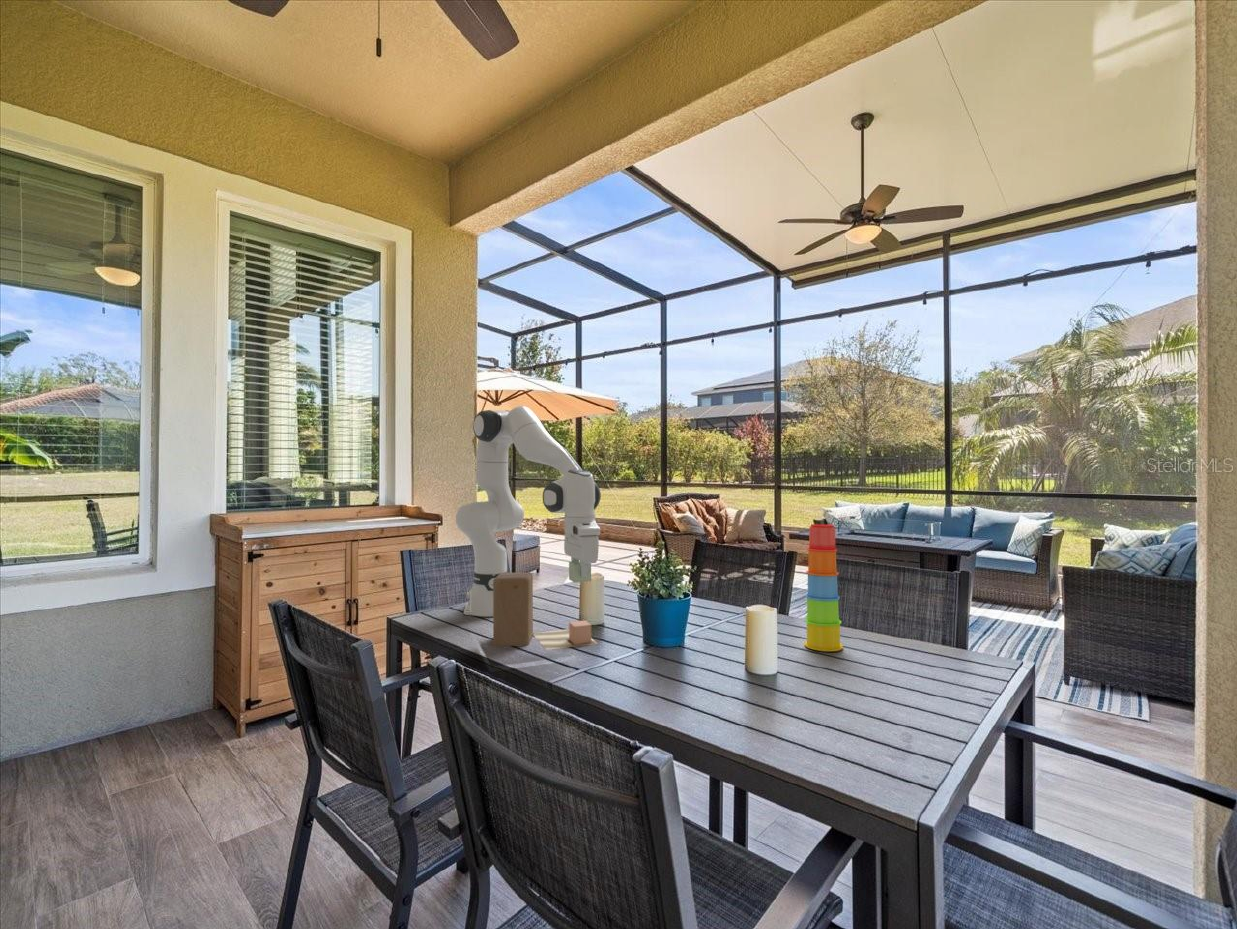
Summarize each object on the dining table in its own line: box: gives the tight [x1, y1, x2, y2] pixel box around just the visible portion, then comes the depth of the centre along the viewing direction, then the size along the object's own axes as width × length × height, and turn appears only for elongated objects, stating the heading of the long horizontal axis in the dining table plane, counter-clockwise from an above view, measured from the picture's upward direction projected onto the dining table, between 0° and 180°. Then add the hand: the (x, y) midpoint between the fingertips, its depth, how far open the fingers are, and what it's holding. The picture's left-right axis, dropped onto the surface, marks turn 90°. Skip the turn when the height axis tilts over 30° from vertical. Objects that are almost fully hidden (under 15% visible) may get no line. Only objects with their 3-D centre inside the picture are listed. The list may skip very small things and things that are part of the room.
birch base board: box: [533, 628, 599, 651], centre depth 170 cm, size 17×15×1 cm
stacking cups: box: [804, 523, 844, 653], centre depth 165 cm, size 10×10×35 cm
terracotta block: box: [568, 619, 592, 644], centre depth 167 cm, size 5×5×5 cm
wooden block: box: [492, 572, 534, 647], centre depth 168 cm, size 10×10×20 cm
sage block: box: [568, 561, 592, 583], centre depth 167 cm, size 5×5×5 cm
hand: (580, 574), depth 167 cm, fingers closed on sage block, 5 cm apart
